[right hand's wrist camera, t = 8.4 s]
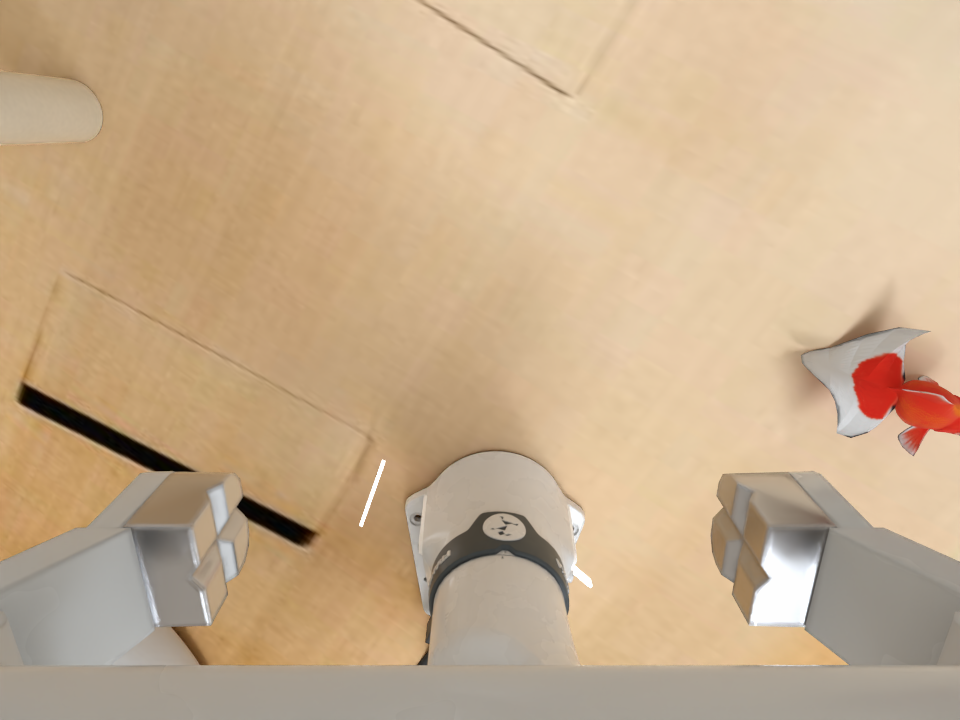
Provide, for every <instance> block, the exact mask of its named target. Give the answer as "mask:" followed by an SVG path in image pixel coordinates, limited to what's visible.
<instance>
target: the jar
mask: <svg viewBox="0 0 960 720" xmlns="http://www.w3.org/2000/svg"><path fill="white" fill-rule="evenodd" d="M102 123H103V113H102V109H101V105H100V103H99V101H98V99H97V97H96V96H95V94H94V93H93V92H92V91H91V90H90V89H89V88H88V87H87V86H85V85H84V84H82V83H81V82H79V81H76V80H73V79H69V78H61V77H53V76H45V75H37V74H28V73H20V72H12V71H4V70H0V146H11V145H39V144H67V143H84V142H88V141H90V140H92V139H93V138H95V137H96V136H97V134H98V133H99V131H100V129H101V127H102Z"/></svg>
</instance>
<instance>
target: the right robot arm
mask: <svg viewBox="0 0 960 720" xmlns="http://www.w3.org/2000/svg"><path fill="white" fill-rule="evenodd" d="M384 464H385V461H384V460H382V462H381V465H380V468H379V471H378V473H377V476H376V479H375V482H374V485H373V488H372V490H371V493H370V496H369V499H368V502H367V505H366V507H365V510H364V513H363V516H362V519H361V522H360V525H359V526H363V523H364V520H365V517H366V515H367V512H368V509H369V506H370V503H371V501H372V498H373V495H374V492H375V489H376V486H377V484H378V481H379V478H380V475H381V472H382V470H383V467H384ZM242 497H243V491H242V486H241V481H240V478H239V477H238V476H237V475H236V474H235V473H211V472H173V471H166V472H145V473H140V474H139V475H138V476H137V477H136V478H135V479H134V480H133V481H132V482H131V483H130V484H129V485H128V486H127V487H126V488H125V489H124V490H123V491H122V492H121V493H120V494H119V495H118V496H117V497H116V498H115V499H114V500H113V501H112V502H111V503H110V504H109V505H108V506H107V507H106V508H105V509H104V510H103V511H102V512H101V513H100V514H99V515H98V516H97V517H96V518H95V519H94V520H93V521H92V522H91V523H90V524H89V525H88V527H87V528H75V529H72V530H70V531H68V532H66V533H64V534H61V535H59V536H57V537H55V538H52V539H50V540H48V541H46V542H43V543H41V544H39V545H37V546H34V547H32V548H30V549H28V550H25V551H23V552H21V553H19V554H16V555H14V556H12V557H10V558H7V559H5V560H3V561H1V562H0V720H960V562H959V561H957V560H955V559H952V558H950V557H948V556H946V555H943V554H941V553H939V552H937V551H934V550H932V549H930V548H928V547H926V546H923V545H921V544H919V543H917V542H914V541H912V540H910V539H908V538H905V537H903V536H901V535H899V534H896V533H894V532H892V531H890V530H888V529H885V528H874V527H873V526H872V525H871V524H870V523H869V522H868V521H867V520H866V519H865V518H864V517H863V516H862V515H861V514H860V513H859V512H858V511H857V510H856V509H855V508H854V507H853V506H852V505H851V504H850V503H849V502H848V501H847V500H846V499H845V498H844V497H843V496H842V495H841V494H840V493H839V492H838V491H837V490H836V489H835V488H834V487H833V486H832V485H831V484H830V483H829V482H828V481H827V480H826V479H825V478H824V477H823V476H822V475H821V474H819V473H816V472H814V471H804V472H775V473H735V474H723V475H722V477H721V479H720V481H719V484H718V490H717V497H718V499H719V501H720V502H721V504H722V505H723V508H722V509H721V510H720V511H719V512H718V513H717V514H716V516H715V517H714V518H713V521H712V529H711V544H712V553H713V556H714V559H715V563H716V565H717V567H718V569H719V571H720V573H721V575H723V576H724V577H726V578H727V579H729V580H730V581H732V582H733V583H734V586H733V592H732V595H733V597H734V599H735V601H736V603H737V604H738V606H739V608H740V610H741V612H742V613H743V615H744V617H745V619H746V621H747V623H748V624H749V626H781V627H805V630H806V631H807V632H808V633H809V634H811V635H812V636H813V637H815V638H816V639H817V640H818V641H820V642H821V643H822V644H823V645H825V646H826V647H827V648H828V649H830V650H831V651H832V652H834V653H835V654H836V655H837V656H839V657H840V658H841V659H842V660H844V661H845V662H846V663H848V664H849V665H580V662H579V659H578V656H577V652H576V649H575V646H574V642H573V638H572V634H571V630H570V626H569V622H568V617H567V615H568V611H569V595H568V594H569V587H568V583H571V582H572V580H573V576H574V575H575V576H577V577H578V578H579V579H580V580H581V581H582V582H584V583H585V584H586V585H587V586H588V587H590V588H591V587H592V583H591V579H590V578H589V577H587V576H586V575H585V574H584V573H583V572H582V571H580V570H579V569H578V568H577V567H576V566H574V565H575V564H576V562H577V554H576V547H575V545H576V542H577V540H578V537H579V535H580V532H581V530H582V528H583V525H584V522H585V516H584V511H583V510H582V509H581V508H580V507H579V506H578V505H577V504H576V503H574V502H573V501H571V500H570V499H568V498H567V497H566V496H565V495H564V494H563V493H562V491H561V489H560V488H559V486H558V484H557V483H556V481H555V480H554V478H553V477H552V476H551V474H550V473H549V472H548V471H547V470H546V469H545V468H543V467H542V466H541V465H539V464H538V463H536V462H535V461H533V460H531V459H529V458H527V457H524V456H522V455H519V454H515V453H510V452H503V451H489V452H481V453H476V454H473V455H470V456H467V457H464V458H462V459H460V460H458V461H456V462H455V463H453V464H452V465H450V466H449V467H448V468H447V469H445V470H444V471H443V472H442V473H441V474H440V475H439V477H438V478H437V479H436V480H435V481H434V482H433V483H432V484H431V485H430V486H429V487H427V488H425V489H422V490H420V491H418V492H416V493H414V494H413V495H411V496H410V497H409V498H408V499H407V500H406V503H405V512H406V517H407V523H408V528H409V534H410V539H411V545H412V550H413V555H414V561H415V566H416V572H417V577H418V583H419V588H420V594H421V599H422V604H423V609H424V611H425V612H426V613H427V614H428V615H430V616H431V617H430V619H429V621H428V624H427V632H426V643H428V644H429V651H428V652H427V654H426V655H425V656H424V657H423V658H422V660H421V661H420V662H419V664H418V665H111V664H113V663H114V662H115V661H116V660H118V659H119V658H120V657H122V656H123V655H124V654H125V653H127V652H128V651H129V650H130V649H132V648H133V647H134V646H136V645H137V644H138V643H139V642H141V641H142V640H143V639H144V638H146V637H147V636H148V635H150V634H151V633H152V632H153V631H155V627H178V626H211V625H212V623H213V621H214V619H215V617H216V615H217V614H218V612H219V610H220V608H221V606H222V604H223V603H224V601H225V599H226V597H227V595H228V592H227V586H226V583H227V582H228V581H230V580H231V579H233V578H234V577H236V576H237V575H239V573H240V571H241V569H242V567H243V565H244V563H245V560H246V555H247V551H248V547H249V527H248V520H247V518H246V517H245V516H244V514H243V513H242V512H241V511H240V510H239V509H238V508H237V505H238V504H239V502H240V501H241V499H242ZM415 515H420V516H422V517H420V518H418V517H416V516H415Z"/></svg>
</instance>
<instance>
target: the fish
mask: <svg viewBox="0 0 960 720" xmlns="http://www.w3.org/2000/svg"><path fill="white" fill-rule="evenodd" d="M927 332H931V331H924V330H916V329H908V328H900V327H899V328H894V329H889V330H885V331H880V332H876V333H871V334H867V335H864V336H861V337H859V338H856V339H853V340H850V341H848V342H845V343H842V344H839V345H836V346H834V347H831V348H825V349H819V350H814V351H810V352H807V353H804V354H802V355H801V358H802V363H803V365H804V366H805V367H806V368H807V369H808V370H809V371H810V372H811V373H812V374H813V375H814V376H815V377H816V378H817V379H818V380H819V381H821V382H822V383H823V384H824V385H825V386H826V387H827V388H828V389H829V390H830V392H831V394H832V396H833V398H834V400H835V404H836V408H837V413H838V427H837V433H838V434H841V435H844V436H847V437H850V438H852V437H855V436H858V435H862V434H865V433H868V432H869V431H871V430H872V429H874V428H875V427H876V426H877V425H879V424H880V423H881V422H882V421H883V420H884V419H885V418H886V417H887V416H888V415H889V413H890V412H891V411H892V410H893V409H894V408H895V409H896V413H897V414H898V416H899V417H900V418H901V419H902V420H903V421H904V422H905V423H907V424H909V425H911V427H909V428H908V429H906V430H904V431H903V432H902V433H900V434H899V435H898V440H899V441H900V443H901V445H902V447H903V448H904V449H905V450H906V451H908V452H909V453H910V454H911V455H913V456H914V454H915V453H916V451H917V450H918V448H919V446H920V444H921V442H922V440H923V438H924V436H925V435H926V434H927V432H928V431H929V429H933V430H934V431H937V432H947V433H952V434H957V435H960V397H958V396H956V395H953V394H952V393H950V392H949V391H947V390H946V389H944V388H942V387H940V386H939V385H938V383H937V382H935V381H933V380H932V379H930V378H929V377H927V376H921V377H919V378H918V380H911V381H908V382H906V383H904V381H905V371H904V362H903V361H904V355H905V346H906V344H907V343H908V342H909V341H910V340H911V339H913V338H915V337H917V336H920V335H922V334H924V333H927ZM903 383H904V384H903Z"/></svg>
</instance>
